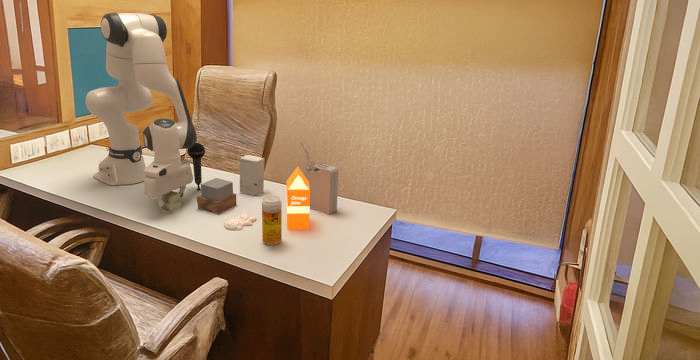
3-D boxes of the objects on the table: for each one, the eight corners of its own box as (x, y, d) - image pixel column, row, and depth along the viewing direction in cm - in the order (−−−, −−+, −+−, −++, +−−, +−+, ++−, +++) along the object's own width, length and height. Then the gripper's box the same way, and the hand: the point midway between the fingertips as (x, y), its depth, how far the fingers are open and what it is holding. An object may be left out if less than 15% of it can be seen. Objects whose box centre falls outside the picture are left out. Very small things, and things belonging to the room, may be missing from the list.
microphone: (202, 194, 188) (199, 146, 181) (186, 192, 189) (183, 144, 183) (210, 188, 195) (208, 141, 188) (195, 186, 196) (192, 139, 189)
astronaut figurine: (261, 223, 167) (261, 215, 166) (233, 233, 159) (232, 225, 158) (246, 215, 173) (245, 208, 172) (217, 225, 164) (217, 217, 163)
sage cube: (160, 210, 173) (159, 194, 171) (171, 205, 177) (169, 190, 175) (171, 212, 171) (170, 197, 169) (181, 208, 175) (180, 193, 173)
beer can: (267, 248, 150) (267, 204, 145) (259, 240, 155) (258, 197, 149) (284, 243, 153) (285, 200, 148) (276, 236, 158) (275, 194, 153)
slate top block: (201, 196, 174) (200, 184, 172) (216, 190, 181) (216, 177, 179) (218, 201, 171) (217, 188, 169) (233, 194, 178) (232, 182, 176)
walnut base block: (197, 209, 176) (196, 196, 174) (215, 200, 184) (215, 188, 182) (218, 215, 172) (218, 202, 170) (236, 206, 180) (236, 193, 178)
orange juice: (308, 218, 172) (309, 166, 166) (309, 229, 164) (310, 174, 157) (286, 218, 171) (286, 166, 164) (286, 229, 163) (286, 174, 156)
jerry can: (297, 204, 184) (298, 142, 175) (306, 200, 188) (307, 139, 179) (328, 215, 176) (330, 150, 167) (336, 211, 180) (339, 147, 171)
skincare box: (239, 193, 192) (238, 158, 187) (246, 188, 197) (246, 154, 192) (258, 196, 189) (257, 161, 184) (265, 191, 195) (264, 156, 190)
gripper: (182, 156, 179) (185, 190, 183) (139, 171, 161) (143, 209, 166) (195, 159, 176) (198, 194, 181) (153, 174, 159) (156, 212, 163)
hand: (171, 201), depth 173 cm, fingers open, 8 cm apart
